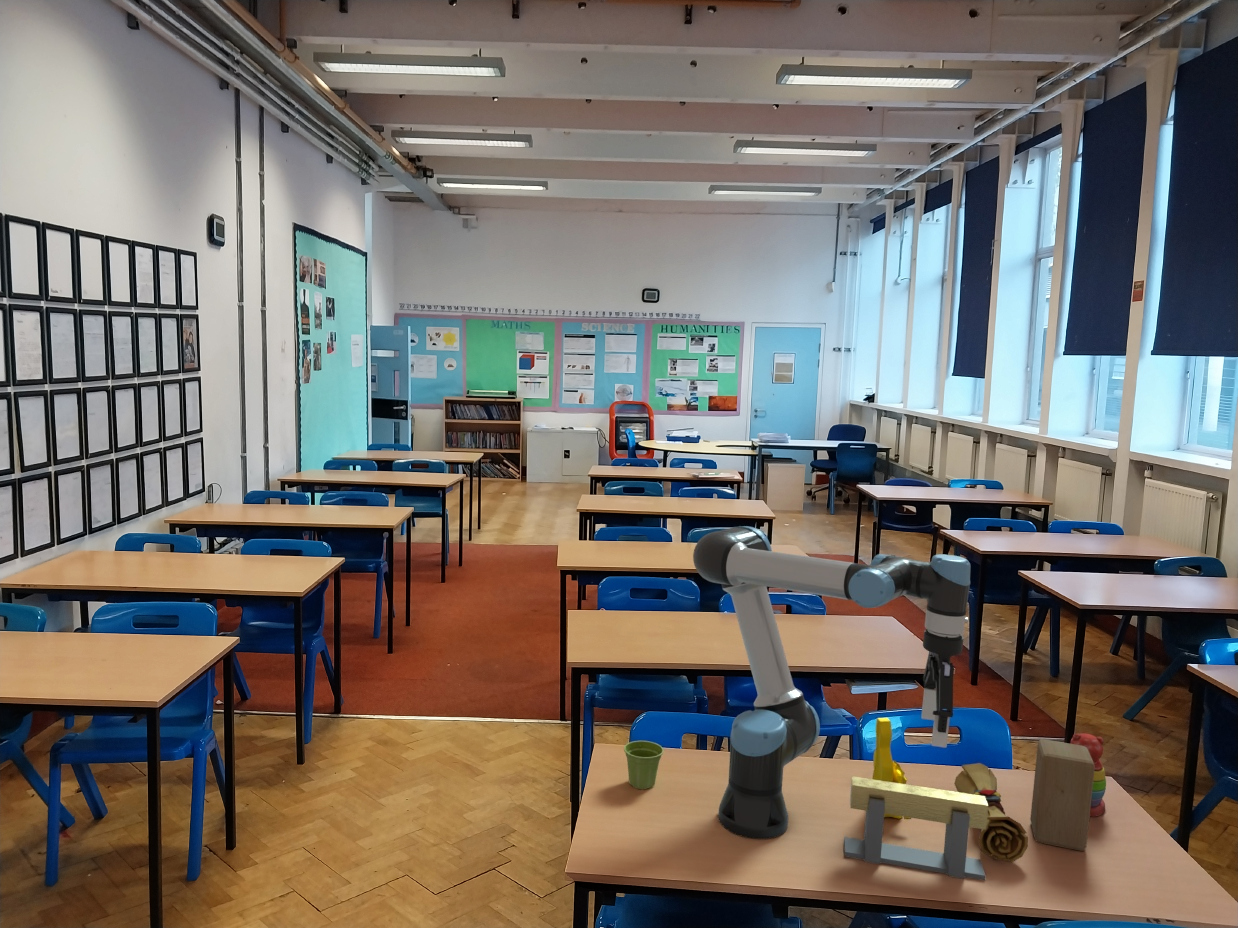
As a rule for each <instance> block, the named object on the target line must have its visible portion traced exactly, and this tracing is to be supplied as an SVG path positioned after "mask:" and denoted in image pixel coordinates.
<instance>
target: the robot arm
mask: <svg viewBox="0 0 1238 928" xmlns="http://www.w3.org/2000/svg"><path fill="white" fill-rule="evenodd" d="M692 560H693V565H694V568H695V570H696V571H697V573H698V574H699V575H700V576H701V577H702V579H704V580H706V581H708V582H710V583H714V584H721V588H722V590H723V591H724V592H726V593H727V594H729V595H730V597H731V600H732V603H733V607H734V611H735V614H736V619H737V622H738V626H739V631H740V634H741V637H742V642H743V644H744V648H745V649H744V650H745V653H746V657H747V659H748V662H749V663H748V664H749V667H750V671H751V675H752V678H753V682H754V685H755V689H756V692H757V696H756V698H755V700H754V702H753V707H754V710H752V709H749V710H745V711H743V712H742V713H740V714H738V715H737V716H736V717H735V718H734V719H733V722H732V726H731V731H730V737H729V739H730V740H729V741H730V745H729V746H730V748H729V750H730V751H729V767H728V768H729V769H728V784H727V786H726V789H725V791H724V793H723V796H722V798H721V800H720V804H719V807H718V817H717V818H718V821H719V823H720V825H721V827H723V828H724V829H726V830H727V831H729V832H730V833H732V834H734V835H737V836H740V837H743V838H746V839H747V838H748V839H753V840H768V839H774V838H778V837H779V836H781V835H783V834H784V833H785V832H787V829H788V823H789V813H788V811H787V810H788V809H787V807H786V806H787V805H786V801H785V797H784V794H783V779H784V777H783V776H784V768H785V766H787V764H789V763H790V762H793V760H795V759H796V758H798V757H799V756H802V755H803V754H805V753H807V752H808V751H809V750H810V749H811V747H812V746H813V745H814V744H815V743H816V741H817V739H818V738H819V736H820V729H821V728H820V727H821V726H820V725H821V724H820V719H819V715H818V713H817V711H816V710H815V708H814V707H813V706H812V705H810V704H809V702H808V701H806V700H805V697H804V693H803V692H802V690H800V689H798V688H796V687H795V685H794V681H793V677H792V675H791V671H790V668H789V664H788V660H787V656H786V653H785V650H784V645H783V642H782V638H781V635H780V631H779V627H778V624H777V620H776V617H775V612H774V610H773V605H772V603H771V599H770V595H769V592H768V587H769V588H774V589H780V590H787V591H793V592H799V593H805V594H811V595H817V596H822V597H823V596H824V597H830V598H836V599H841V600H846V601H853V602H854V603H856V604H857V605H858V606H860V607H862V608H864V609H873V608H879V607H880V608H881V607H882V606H885V605H886V604H888V603H889V602H890V601H893V600H895V599H897V598H899V597H902V596H907V597H908V596H909V597H913V598H919V599H924V600H926V601H927V602H926V603H927V605H926V608H925V609H926V611H925V619H924V628H925V630H924V632H923V638H922V639H923V641H922V647H923V648H924V649H925V650H926V651H927V652H928V656H927V659H926V663H925V664H926V665H925V668H924V673H923V677H922V681H923V687H924V688H923V698H922V707H921V717H920V718H921V719H922V720H929V721H930V720H931V721H933V727H932V734H931V735H932V737H931V746H932V747H939V748H944V749H945V748H947V745H948V736H949V728H950V721H951V720H950V719H951V718H953V717H954V675H955V674H954V673H955V665H953V662H951V658H952V657H953V656H959V655H961V654H962V652H963V646H964V636H963V634H964V633H965V624H967V623H969V618H968V617H967V615H966V614H967V607H968V600H969V592H970V585H971V563H970V562H969V560H968V559H966V558H965V557H962V556H959V555H958V556H957V555H953V554H943V553H942V554H935V555H933V556H932V558H931V561H930V562H929V561H928V562H927V561H922V560H917V559H912V558H906V557H901V556H897V555H895V554H882V553H878V554H876V555H875V556H874V557H873V559H872V560H871V562H870V563H869V564H863V563H856V562H850V561H843V560H836V559H827V558H820V557H815V556H808V555H807V556H806V555H800V554H799V555H798V554H791V553H785V552H778V551H777V552H776V551H772V546H771V543H770V541H769V539H768V537H767V536H766V535H765V534H764V533H763V532H762V531H761V530H759V529H757V528H755V527H753V526H747V525H746V526H745V525H744V526H741V525H739V526H733V527H731V528H725V529H722V530H717V531H713V532H709V533H707V534H705V535H703V536H702V537H701V538H700V539H699V540H698V541H697V543H696V544H695V546H694V549H693V553H692Z"/></svg>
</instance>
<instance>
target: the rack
mask: <svg viewBox="0 0 1238 928" xmlns="http://www.w3.org/2000/svg"><path fill="white" fill-rule="evenodd" d="M884 811H885V801H884V800H878V799H872V798H869V810H868V811H865V817H864V819H865V820H864V821H865V822H864V833H863V839H860V838H853V837H848V836H844V839H843V847H844V848H843V849H844V857H846V858H851V859H852V858H853V859H858V860H864V862H865V863H869V864H870V863H871V864H878V865H881V864H888V865H893V866H899V867H905V868H909V869H915V870H916V869H917V870H922V871H928V872H934V873H938V874H945V875H947V876H948V877H950V878H951V877H952V878H957V879H963V880H964V879H965V878H969V879H974V880H980V881H986V872H985V870H984V867H983V863H982V860H981V859H980V858H973V857H968V856H967V851H968V841H969V840H968V838H969V831H970V827H969V820H970V816H969V814H968V813H962V812H955V811H953V815H952V824H947V823H945V824H946V825H945V834H944V844H943V845H944V846H943V852H938V851H933V850H927V849H926V850H925V849H919V848H914V847H908V846H907V847H906V846H903V845H902V846H901V845H897V844H891V843H890V844H889V843H884V842H883V836H884V835H883V834H884V833H883V832H884V822H885V817H884Z"/></svg>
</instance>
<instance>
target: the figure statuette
mask: <svg viewBox="0 0 1238 928" xmlns="http://www.w3.org/2000/svg"><path fill="white" fill-rule="evenodd" d="M892 730H893V729H892V722H891V720H890V719H889V718H888V717H877V718H876V722H875V750H874V752H873V759H872V760H873V773H872V778H871V779H873V780H880V781H886V782H893V783H900V784H907V781H908V779H907V777H906V776H905V771H904V770H903V769H902V766H901V765H900V764H899V763H898V762H897V760H893V756H892V751H891V744H892V737H893V731H892ZM884 818H894V819H902V818H903V820H911V819H912V818H909V817H903V816H897V815H890V814H884Z"/></svg>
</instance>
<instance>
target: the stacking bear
mask: <svg viewBox="0 0 1238 928" xmlns="http://www.w3.org/2000/svg"><path fill="white" fill-rule="evenodd" d="M1104 743H1105V741H1104V738H1103V737H1101V736H1096V735H1093V734H1091V733H1084V732H1082V733H1074V734H1073V735H1072V738H1071V740H1070V743H1069V744H1075V745H1081V746H1085V747H1087V749H1088V751H1089V753H1090V756H1091V758H1092V760H1093V762H1094V765H1095V770H1094V779H1093V789H1092V798H1091V807H1090V817H1093V818H1094V817H1099V816H1101V815H1102V814H1104V813H1105V811H1106V803H1105V801H1104V800H1103V798H1104V796H1105V794H1106V789H1107V778H1106V771H1105V767H1104V765H1103V763H1102V762H1101V757H1102V756H1103V754H1104V746H1103V744H1104ZM1090 817H1089V818H1090Z"/></svg>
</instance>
